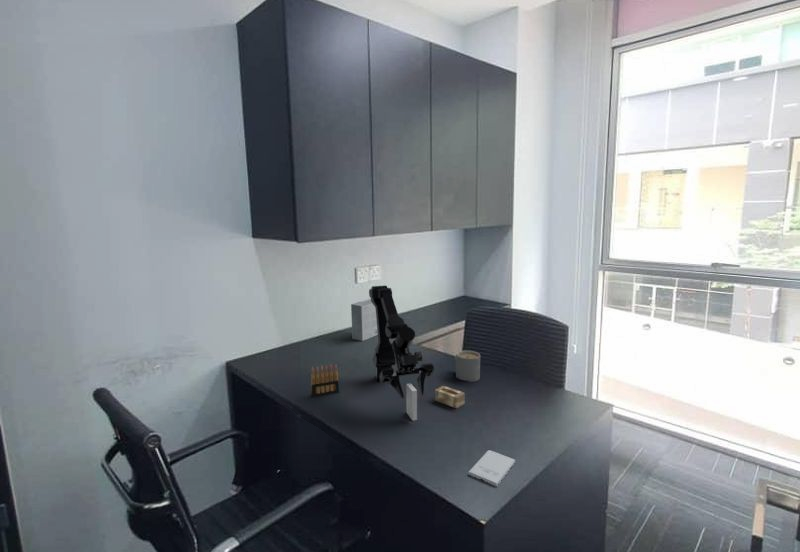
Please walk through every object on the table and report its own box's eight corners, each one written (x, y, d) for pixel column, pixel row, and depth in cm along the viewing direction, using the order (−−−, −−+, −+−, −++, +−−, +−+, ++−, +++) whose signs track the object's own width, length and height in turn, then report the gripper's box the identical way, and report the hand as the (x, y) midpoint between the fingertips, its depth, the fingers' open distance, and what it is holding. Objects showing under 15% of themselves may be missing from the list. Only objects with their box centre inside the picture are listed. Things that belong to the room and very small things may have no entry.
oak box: (434, 401, 151) (434, 390, 150) (443, 396, 154) (443, 385, 154) (456, 409, 144) (456, 397, 144) (464, 404, 148) (464, 392, 147)
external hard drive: (515, 465, 114) (496, 488, 104) (488, 454, 119) (468, 476, 109) (515, 459, 114) (497, 483, 104) (488, 449, 119) (468, 470, 109)
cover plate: (406, 413, 142) (406, 383, 140) (410, 412, 142) (410, 383, 140) (412, 422, 136) (412, 391, 134) (417, 421, 137) (416, 390, 135)
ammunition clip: (311, 397, 154) (310, 367, 152) (310, 395, 156) (309, 365, 154) (339, 392, 158) (338, 363, 156) (338, 390, 160) (337, 361, 158)
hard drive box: (369, 332, 237) (369, 298, 234) (380, 334, 232) (379, 300, 229) (351, 339, 224) (350, 303, 221) (362, 341, 220) (361, 305, 217)
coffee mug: (483, 380, 169) (484, 357, 168) (462, 383, 166) (462, 359, 165) (469, 368, 182) (469, 347, 180) (448, 371, 179) (449, 349, 177)
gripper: (381, 346, 136) (391, 391, 128) (432, 341, 142) (445, 383, 133) (375, 361, 145) (384, 403, 136) (424, 355, 151) (435, 396, 142)
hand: (412, 396), depth 137 cm, fingers open, 7 cm apart
